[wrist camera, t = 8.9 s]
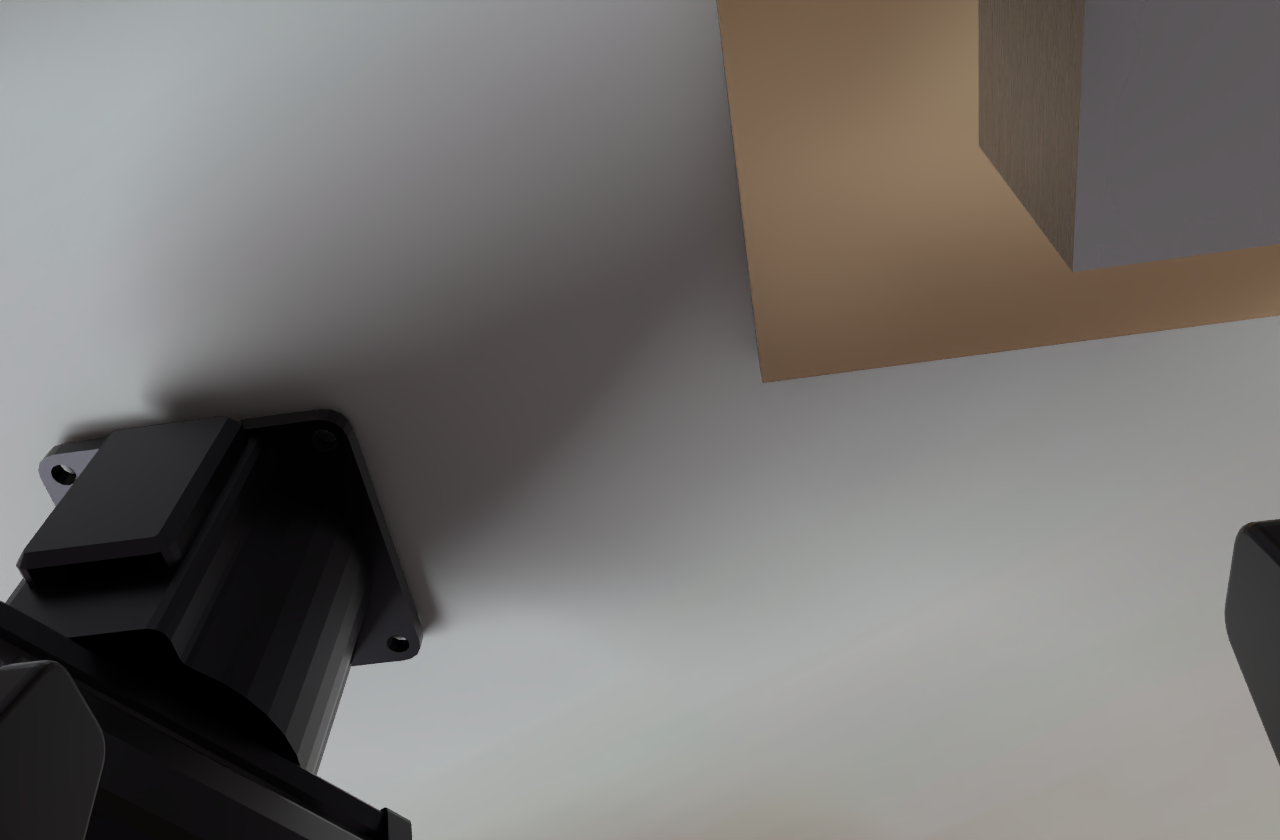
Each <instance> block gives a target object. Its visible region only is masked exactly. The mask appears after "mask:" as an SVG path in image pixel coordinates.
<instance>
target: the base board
mask: <svg viewBox="0 0 1280 840" xmlns="http://www.w3.org/2000/svg"><path fill="white" fill-rule="evenodd" d="M716 1H717V10H718V18H719V27H720V35H721V44H722V52H723V60H724V69H725V77H726V86H727V94H728V103H729V111H730V120H731V128H732V137H733V145H734V153H735V162H736V170H737V179H738V187H739V196H740V204H741V213H742V221H743V230H744V238H745V247H746V255H747V263H748V272H749V280H750V289H751V297H752V306H753V314H754V323H755V331H756V340H757V348H758V356H759V363H760V369H761V375H762V381H763V383H766V382H773V381H781V380H789V379H796V378H804V377H811V376H819V375H827V374H834V373H842V372H850V371H857V370H865V369H873V368H880V367H888V366H895V365H903V364H911V363H918V362H926V361H934V360H941V359H949V358H956V357H964V356H972V355H979V354H987V353H995V352H1002V351H1010V350H1018V349H1025V348H1033V347H1040V346H1048V345H1056V344H1063V343H1071V342H1079V341H1086V340H1094V339H1101V338H1109V337H1117V336H1124V335H1132V334H1140V333H1147V332H1155V331H1162V330H1170V329H1178V328H1185V327H1193V326H1201V325H1208V324H1216V323H1224V322H1231V321H1239V320H1246V319H1254V318H1262V317H1269V316H1277V315H1280V244H1275V245H1268V246H1261V247H1253V248H1246V249H1239V250H1231V251H1224V252H1217V253H1209V254H1202V255H1195V256H1187V257H1180V258H1173V259H1165V260H1158V261H1151V262H1143V263H1136V264H1129V265H1122V266H1114V267H1107V268H1100V269H1092V270H1085V271H1078V272H1072V271H1071V269H1070V268H1069V267H1068V265H1067V264H1066V263H1065V261H1064V260H1063V259H1062V257H1061V256H1060V255H1059V253H1058V252H1057V251H1056V249H1055V248H1054V247H1053V245H1052V244H1051V242H1050V241H1049V240H1048V238H1047V237H1046V236H1045V234H1044V233H1043V232H1042V230H1041V229H1040V228H1039V226H1038V225H1037V224H1036V222H1035V221H1034V220H1033V218H1032V217H1031V216H1030V214H1029V213H1028V212H1027V210H1026V209H1025V207H1024V206H1023V205H1022V203H1021V202H1020V201H1019V199H1018V198H1017V197H1016V195H1015V194H1014V193H1013V191H1012V190H1011V189H1010V187H1009V186H1008V185H1007V183H1006V182H1005V181H1004V179H1003V178H1002V177H1001V175H1000V174H999V172H998V171H997V170H996V168H995V167H994V166H993V164H992V163H991V162H990V160H989V159H988V158H987V156H986V155H985V154H984V152H983V151H982V150H981V148H980V147H979V66H978V0H716Z"/></svg>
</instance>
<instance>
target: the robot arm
mask: <svg viewBox="0 0 1280 840" xmlns="http://www.w3.org/2000/svg"><path fill="white" fill-rule="evenodd" d="M319 430H324V431H328V432H330V433H332V434H333V435H334V437H335V438H336V440H333V441H329V440H325V439H323V438H321V437H320V436H319V435H318V433H317V432H316V431H319ZM60 465H66V466H68V467H70V468H72V470H73V471H74V472H75V473H76V474H71V473H69V472H67V471H65V470H64V469H63V468H62V467H61V466H60ZM39 474H40V477H41V479H42V481H43V483H44V485H45V487H46V489H47V491H48V493H49V494H50V496H51V498H52V500H53V502H54V504H55V506H56V507H55V509H54V510H53V511H52V513H51V514H50V515H49V517H48V518H47V519H46V521H45V522H44V523H43V525H42V526H41V527H40V529H39V530H38V531H37V533H36V534H35V535H34V537H33V538H32V540H31V541H30V542H29V544H28V545H27V546H26V548H25V549H24V550H23V552H22V554H21V556H20V558H19V559H18V562H17V564H16V566H17V568H18V570H19V571H20V573H21V575H22V577H23V579H22V581H21V582H20V583H19V585H18V586H17V588H16V589H15V590H14V592H13V593H12V594H11V596H10V597H9V599H8V600H7V601H6V603H4V602H2V601H0V840H412V829H411V822H410V820H408V819H406V818H404V817H402V816H401V815H399V814H397V813H395V812H393V811H392V810H390V809H388V808H383V809H381V810H378V809H376V808H374V807H373V806H371V805H369V804H367V803H365V802H364V801H362V800H360V799H358V798H356V797H355V796H353V795H351V794H349V793H347V792H346V791H344V790H342V789H340V788H338V787H336V786H335V785H333V784H331V783H329V782H327V781H326V780H324V779H322V778H320V777H318V776H317V772H318V769H319V766H320V762H321V759H322V756H323V753H324V750H325V747H326V743H327V740H328V737H329V734H330V731H331V728H332V725H333V721H334V718H335V715H336V712H337V709H338V706H339V702H340V699H341V696H342V693H343V690H344V687H345V683H346V680H347V677H348V674H349V671H350V668H351V666H357V665H366V664H375V663H384V662H393V661H402V660H407V659H410V658H412V657H414V656H415V655H416V654H418V651H419V649H420V647H421V643H422V639H423V629H422V626H421V623H420V620H419V617H418V614H417V611H416V609H415V606H414V603H413V600H412V597H411V594H410V591H409V588H408V585H407V583H406V580H405V577H404V574H403V571H402V568H401V565H400V562H399V560H398V557H397V554H396V551H395V548H394V545H393V542H392V539H391V536H390V534H389V531H388V528H387V525H386V522H385V519H384V516H383V513H382V510H381V508H380V505H379V502H378V499H377V496H376V493H375V490H374V487H373V484H372V482H371V479H370V476H369V473H368V470H367V467H366V464H365V461H364V458H363V456H362V453H361V450H360V447H359V444H358V441H357V438H356V435H355V433H354V430H353V427H352V425H351V423H350V422H349V420H348V419H347V418H346V417H345V416H343V415H342V414H341V413H339V412H336V411H333V410H326V409H320V410H312V411H305V412H297V413H290V414H282V415H275V416H267V417H260V418H252V419H245V420H239V419H236V418H232V417H229V416H220V417H213V418H205V419H198V420H190V421H183V422H175V423H168V424H160V425H153V426H146V427H138V428H131V429H123V430H117V431H114V432H112V433H111V434H110V435H109V437H108V438H103V439H95V440H88V441H80V442H73V443H65V444H60V445H58V446H55V447H53V448H52V449H51V450H50V451H49V453H48V454H47V455H46V456H45V457H44V459H43V460H42V461H41V462H40V465H39ZM1225 624H1226V630H1227V634H1228V638H1229V641H1230V644H1231V646H1232V649H1233V651H1234V654H1235V656H1236V659H1237V661H1238V664H1239V666H1240V669H1241V671H1242V674H1243V676H1244V679H1245V681H1246V683H1247V686H1248V688H1249V691H1250V693H1251V696H1252V698H1253V701H1254V703H1255V706H1256V708H1257V711H1258V713H1259V716H1260V718H1261V721H1262V723H1263V726H1264V728H1265V731H1266V733H1267V736H1268V738H1269V741H1270V743H1271V746H1272V748H1273V751H1274V753H1275V756H1276V758H1277V760H1278V763H1279V765H1280V519H1276V520H1267V521H1258V522H1251V523H1248V524H1246V525H1244V526H1243V527H1242V528H1241V529H1240V530H1239V532H1238V534H1237V536H1236V540H1235V544H1234V550H1233V557H1232V564H1231V570H1230V577H1229V583H1228V590H1227V597H1226V603H1225ZM393 636H402V637H404V638H406V640H398V639H396V638H394V637H393Z"/></svg>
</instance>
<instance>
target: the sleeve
mask: <svg viewBox="0 0 1280 840" xmlns="http://www.w3.org/2000/svg"><path fill="white" fill-rule="evenodd" d="M978 66H979V147H980V148H981V150H982V151H983V152H984V154H985V155H986V156H987V158H988V159H989V160H990V162H991V163H992V164H993V166H994V167H995V168H996V170H997V171H998V172H999V174H1000V175H1001V177H1002V178H1003V179H1004V181H1005V182H1006V183H1007V185H1008V186H1009V187H1010V189H1011V190H1012V191H1013V193H1014V194H1015V195H1016V197H1017V198H1018V199H1019V201H1020V202H1021V203H1022V205H1023V206H1024V207H1025V209H1026V210H1027V212H1028V213H1029V214H1030V216H1031V217H1032V218H1033V220H1034V221H1035V222H1036V224H1037V225H1038V226H1039V228H1040V229H1041V230H1042V232H1043V233H1044V234H1045V236H1046V237H1047V238H1048V240H1049V241H1050V242H1051V244H1052V245H1053V247H1054V248H1055V249H1056V251H1057V252H1058V253H1059V255H1060V256H1061V257H1062V259H1063V260H1064V261H1065V263H1066V264H1067V265H1068V267H1069V268H1070V269H1071V271H1072V272H1078V271H1085V270H1092V269H1100V268H1107V267H1114V266H1122V265H1129V264H1136V263H1143V262H1151V261H1158V260H1165V259H1173V258H1180V257H1187V256H1195V255H1202V254H1209V253H1217V252H1224V251H1231V250H1239V249H1246V248H1253V247H1261V246H1268V245H1275V244H1280V0H978Z"/></svg>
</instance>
